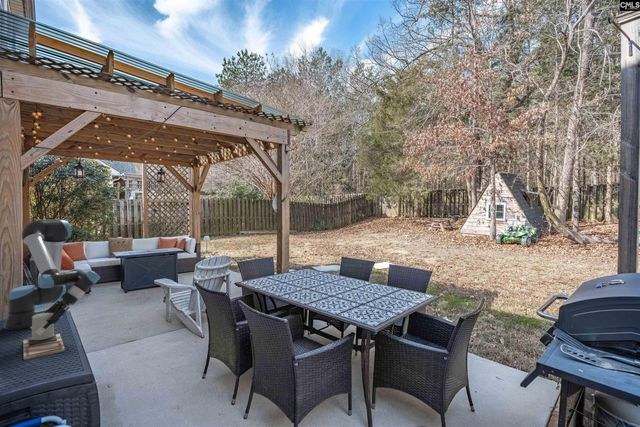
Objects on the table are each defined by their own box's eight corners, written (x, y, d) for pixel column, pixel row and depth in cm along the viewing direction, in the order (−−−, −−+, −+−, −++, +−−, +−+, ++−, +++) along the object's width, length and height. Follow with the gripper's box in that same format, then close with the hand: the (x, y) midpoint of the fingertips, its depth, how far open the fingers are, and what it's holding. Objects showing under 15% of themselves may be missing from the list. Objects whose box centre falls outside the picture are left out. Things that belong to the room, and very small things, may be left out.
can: (40, 341, 163) (41, 318, 163) (26, 339, 165) (27, 316, 165) (58, 334, 172) (59, 312, 172) (45, 332, 174) (45, 311, 174)
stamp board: (23, 342, 168) (23, 338, 168) (59, 335, 178) (59, 331, 178) (23, 360, 148) (23, 356, 148) (64, 351, 158) (64, 347, 158)
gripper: (85, 302, 175) (47, 340, 162) (71, 295, 187) (35, 330, 174) (74, 294, 170) (34, 333, 157) (60, 288, 183) (22, 323, 170)
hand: (34, 331), depth 166 cm, fingers closed on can, 9 cm apart
